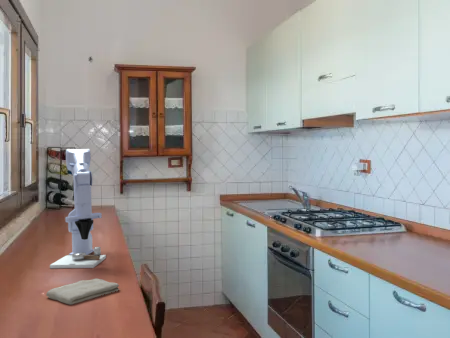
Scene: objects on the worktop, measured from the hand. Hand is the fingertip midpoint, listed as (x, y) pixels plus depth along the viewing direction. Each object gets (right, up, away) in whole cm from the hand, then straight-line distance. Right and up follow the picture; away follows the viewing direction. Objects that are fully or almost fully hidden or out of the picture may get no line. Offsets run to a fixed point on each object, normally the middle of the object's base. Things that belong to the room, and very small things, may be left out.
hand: (84, 239), depth 174 cm
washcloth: (+12, -11, -38) cm, 41 cm away
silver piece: (0, -8, +1) cm, 8 cm away
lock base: (-3, -9, +1) cm, 10 cm away
